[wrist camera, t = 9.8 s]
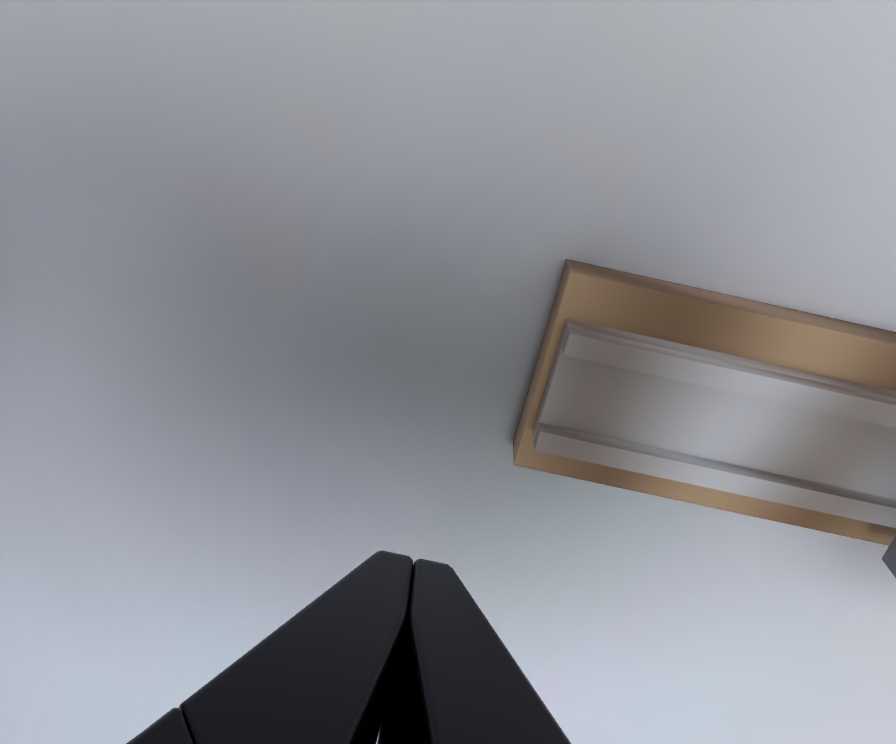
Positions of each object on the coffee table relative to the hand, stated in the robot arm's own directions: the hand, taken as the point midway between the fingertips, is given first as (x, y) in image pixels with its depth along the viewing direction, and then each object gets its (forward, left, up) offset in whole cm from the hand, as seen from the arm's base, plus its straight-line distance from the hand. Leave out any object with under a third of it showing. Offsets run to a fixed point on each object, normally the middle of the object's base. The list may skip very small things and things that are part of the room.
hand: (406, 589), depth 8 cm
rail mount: (+11, +3, -13) cm, 17 cm away
